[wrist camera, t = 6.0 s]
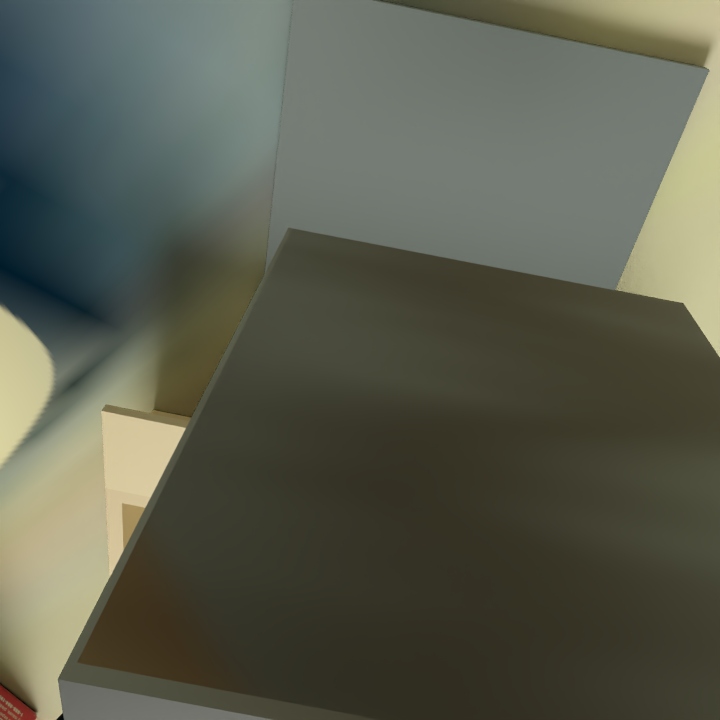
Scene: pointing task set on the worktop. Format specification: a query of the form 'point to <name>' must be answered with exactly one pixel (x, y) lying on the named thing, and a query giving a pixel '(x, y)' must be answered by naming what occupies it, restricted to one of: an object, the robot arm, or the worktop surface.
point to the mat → (472, 139)
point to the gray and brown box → (426, 509)
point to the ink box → (14, 707)
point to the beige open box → (134, 466)
